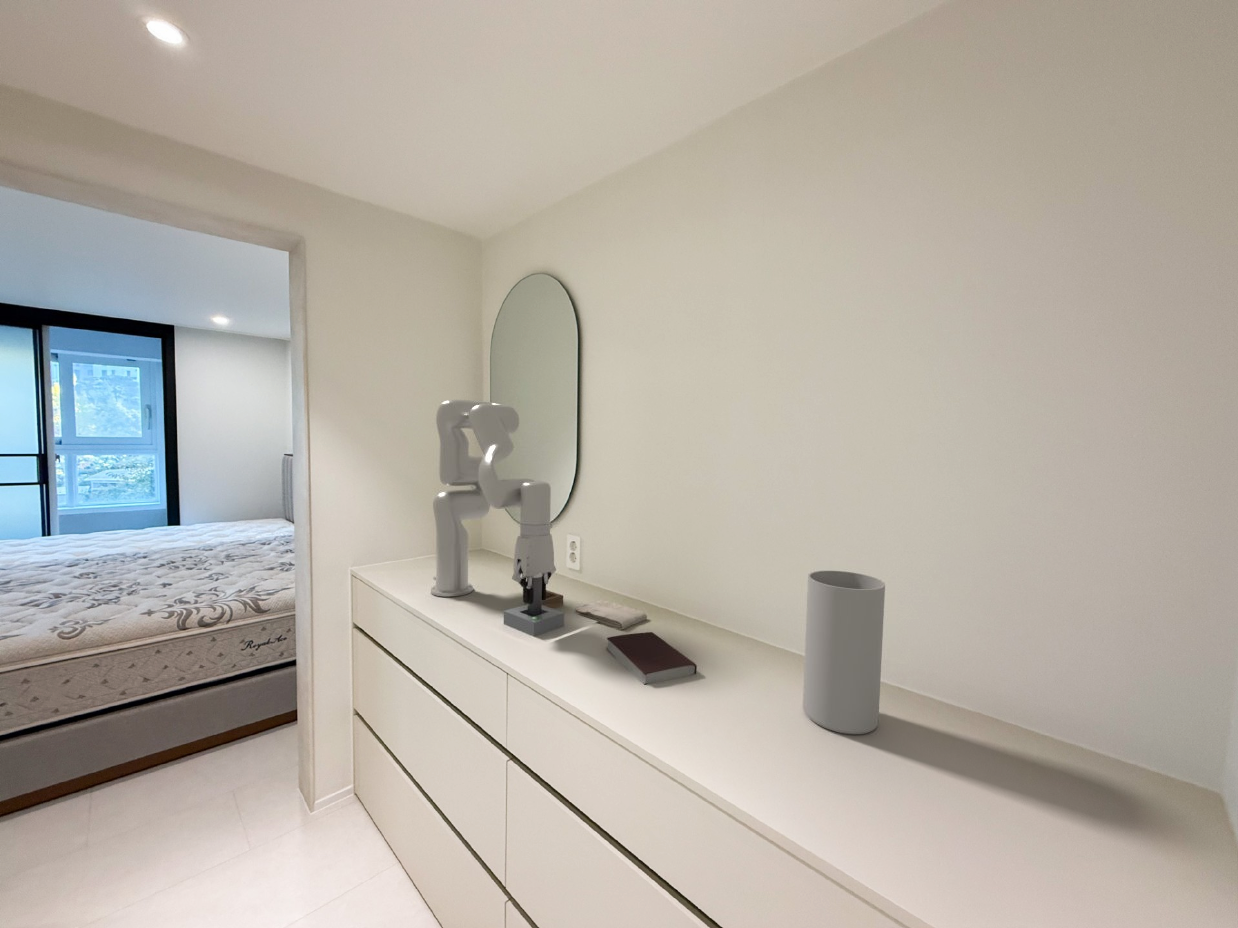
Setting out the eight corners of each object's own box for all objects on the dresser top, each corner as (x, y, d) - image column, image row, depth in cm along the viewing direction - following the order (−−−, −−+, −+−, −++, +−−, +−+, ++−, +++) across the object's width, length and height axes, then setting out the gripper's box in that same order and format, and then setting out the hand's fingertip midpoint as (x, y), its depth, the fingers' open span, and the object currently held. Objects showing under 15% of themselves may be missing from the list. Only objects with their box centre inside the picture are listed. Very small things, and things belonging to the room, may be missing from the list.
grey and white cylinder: (523, 615, 133) (524, 569, 133) (535, 612, 136) (536, 566, 135) (533, 619, 131) (534, 572, 130) (545, 615, 133) (545, 569, 133)
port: (503, 626, 134) (503, 609, 134) (533, 616, 141) (534, 600, 141) (533, 638, 126) (533, 620, 126) (563, 627, 133) (564, 611, 133)
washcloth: (598, 606, 153) (599, 596, 153) (649, 620, 142) (649, 609, 141) (571, 616, 143) (571, 605, 143) (622, 633, 132) (622, 621, 132)
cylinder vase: (849, 697, 101) (855, 569, 99) (894, 733, 88) (901, 588, 87) (789, 701, 98) (795, 571, 97) (827, 739, 86) (833, 590, 85)
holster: (524, 607, 149) (524, 595, 149) (545, 601, 155) (545, 589, 155) (542, 613, 144) (542, 601, 144) (563, 607, 150) (563, 595, 149)
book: (652, 642, 126) (653, 629, 126) (697, 676, 109) (697, 661, 109) (605, 650, 121) (605, 637, 121) (644, 687, 104) (644, 671, 103)
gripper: (550, 524, 141) (549, 591, 142) (499, 532, 129) (498, 605, 129) (569, 528, 136) (568, 597, 137) (518, 536, 124) (517, 612, 124)
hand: (534, 600), depth 133 cm, fingers closed on grey and white cylinder, 3 cm apart
